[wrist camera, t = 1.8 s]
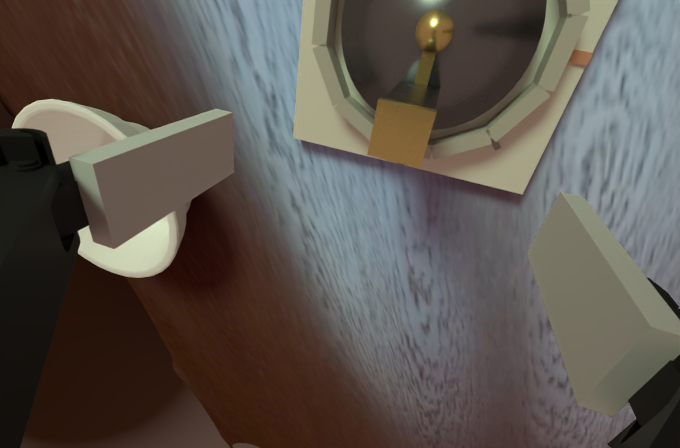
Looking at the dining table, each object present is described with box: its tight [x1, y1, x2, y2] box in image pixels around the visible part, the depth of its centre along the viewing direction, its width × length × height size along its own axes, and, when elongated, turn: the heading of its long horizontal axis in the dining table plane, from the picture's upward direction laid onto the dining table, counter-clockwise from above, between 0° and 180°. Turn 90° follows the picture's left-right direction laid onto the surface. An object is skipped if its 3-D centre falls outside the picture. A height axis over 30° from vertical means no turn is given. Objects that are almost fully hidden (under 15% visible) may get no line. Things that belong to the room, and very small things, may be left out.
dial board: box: [293, 0, 618, 195], centre depth 26 cm, size 22×22×4 cm
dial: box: [341, 0, 547, 168], centre depth 21 cm, size 14×14×11 cm
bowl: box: [12, 99, 191, 278], centre depth 40 cm, size 21×21×8 cm
